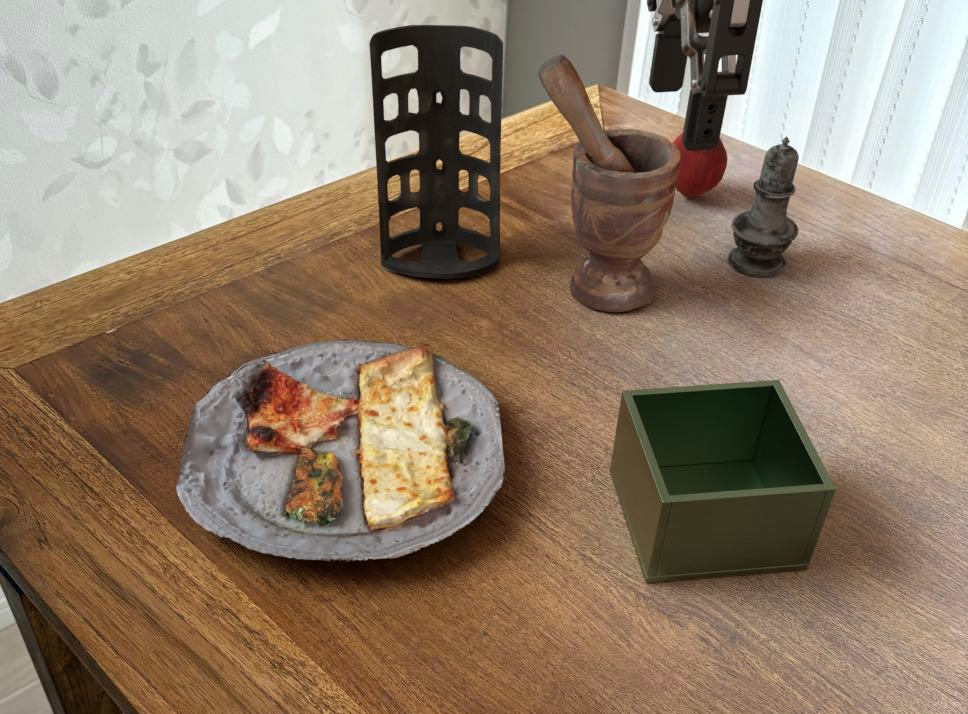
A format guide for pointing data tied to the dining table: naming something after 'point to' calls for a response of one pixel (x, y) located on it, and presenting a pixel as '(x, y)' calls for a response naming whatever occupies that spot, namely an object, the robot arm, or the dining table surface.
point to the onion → (699, 169)
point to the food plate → (342, 451)
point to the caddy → (718, 481)
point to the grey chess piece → (767, 217)
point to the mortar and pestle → (612, 196)
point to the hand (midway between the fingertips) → (681, 117)
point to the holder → (438, 148)
